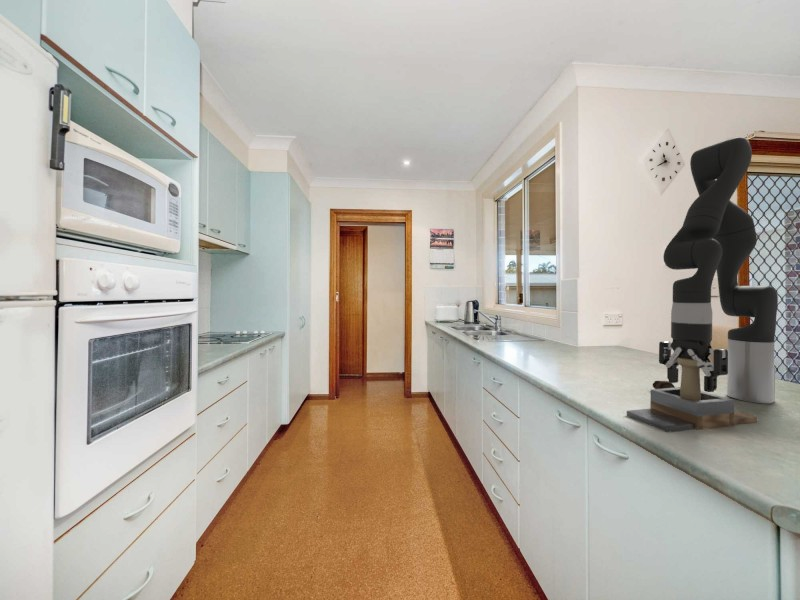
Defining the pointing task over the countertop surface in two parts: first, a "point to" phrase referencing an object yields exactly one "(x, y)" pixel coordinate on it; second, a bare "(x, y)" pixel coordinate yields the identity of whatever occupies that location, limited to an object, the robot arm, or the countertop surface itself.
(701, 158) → the robot arm
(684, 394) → the handle
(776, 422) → the countertop surface
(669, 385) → the dark brown oblong lump
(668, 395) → the grey storage bin
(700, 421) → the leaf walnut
